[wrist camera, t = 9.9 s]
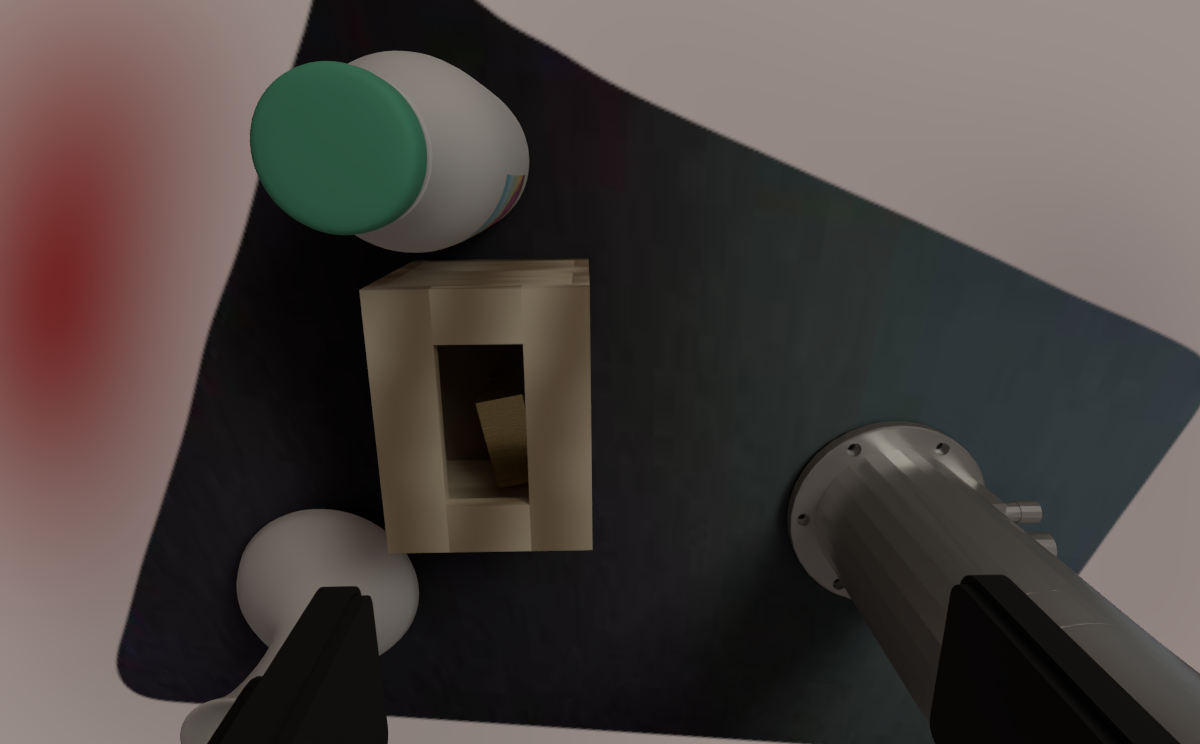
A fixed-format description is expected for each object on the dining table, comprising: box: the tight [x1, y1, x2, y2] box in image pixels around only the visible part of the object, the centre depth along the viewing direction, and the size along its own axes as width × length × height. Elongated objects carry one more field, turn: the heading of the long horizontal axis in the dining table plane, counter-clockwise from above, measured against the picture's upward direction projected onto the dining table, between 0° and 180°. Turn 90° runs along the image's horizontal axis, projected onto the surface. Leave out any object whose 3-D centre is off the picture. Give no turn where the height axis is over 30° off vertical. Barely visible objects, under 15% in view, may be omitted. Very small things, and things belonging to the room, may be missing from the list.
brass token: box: [475, 368, 529, 488], centre depth 38 cm, size 2×5×5 cm
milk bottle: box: [250, 51, 529, 253], centre depth 28 cm, size 8×8×20 cm
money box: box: [359, 258, 592, 553], centre depth 36 cm, size 10×13×10 cm
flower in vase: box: [180, 509, 419, 744], centre depth 33 cm, size 13×11×25 cm
